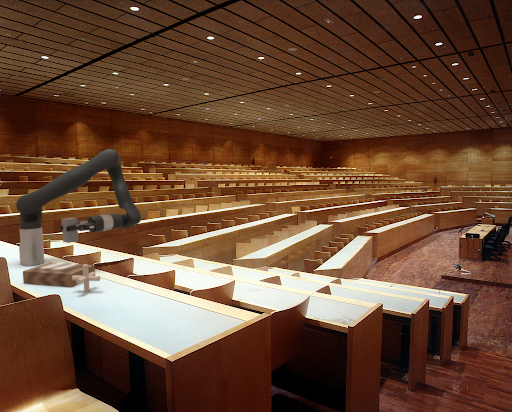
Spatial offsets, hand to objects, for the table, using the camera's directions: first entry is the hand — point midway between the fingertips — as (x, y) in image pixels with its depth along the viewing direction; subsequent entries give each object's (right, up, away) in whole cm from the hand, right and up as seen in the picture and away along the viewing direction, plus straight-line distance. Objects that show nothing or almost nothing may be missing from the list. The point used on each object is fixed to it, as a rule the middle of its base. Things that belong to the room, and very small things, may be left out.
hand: (63, 228), depth 160 cm
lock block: (+2, -6, +3) cm, 7 cm away
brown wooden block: (+2, -21, -7) cm, 22 cm away
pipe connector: (+19, -22, -21) cm, 36 cm away
